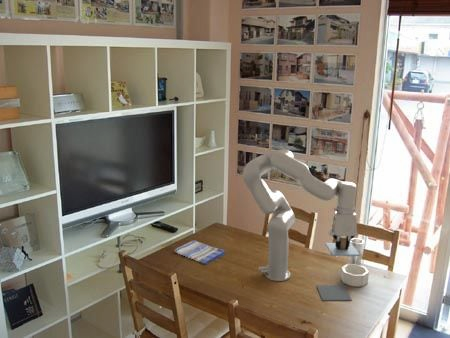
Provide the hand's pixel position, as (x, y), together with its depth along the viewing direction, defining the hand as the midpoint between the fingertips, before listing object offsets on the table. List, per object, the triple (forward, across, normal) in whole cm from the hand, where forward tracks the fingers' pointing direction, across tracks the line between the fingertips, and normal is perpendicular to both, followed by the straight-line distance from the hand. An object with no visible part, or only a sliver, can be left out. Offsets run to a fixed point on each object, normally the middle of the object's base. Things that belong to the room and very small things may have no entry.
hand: (342, 248), depth 209 cm
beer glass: (+21, +14, +20) cm, 32 cm away
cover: (+1, 0, 0) cm, 1 cm away
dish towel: (+23, -64, +41) cm, 79 cm away
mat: (+21, -3, -3) cm, 21 cm away
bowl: (+21, +10, +7) cm, 24 cm away
